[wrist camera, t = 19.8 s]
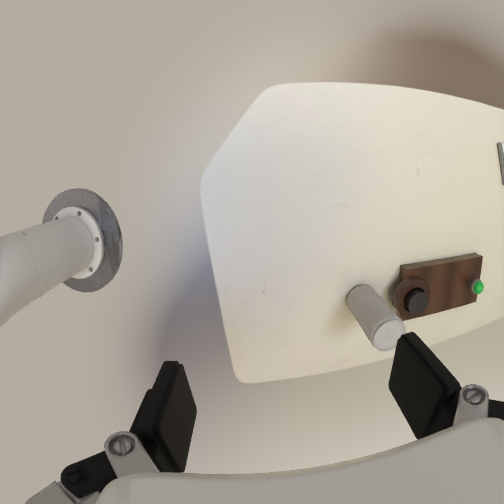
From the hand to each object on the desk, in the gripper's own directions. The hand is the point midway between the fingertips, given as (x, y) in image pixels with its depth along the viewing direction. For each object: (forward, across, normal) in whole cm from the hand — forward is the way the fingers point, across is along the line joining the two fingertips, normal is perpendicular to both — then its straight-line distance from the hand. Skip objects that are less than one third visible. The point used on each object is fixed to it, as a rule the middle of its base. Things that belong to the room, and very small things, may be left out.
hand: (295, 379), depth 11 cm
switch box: (+29, -29, +11) cm, 43 cm away
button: (+26, -22, +11) cm, 36 cm away
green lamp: (+25, -36, +11) cm, 45 cm away
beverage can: (+30, -14, +11) cm, 35 cm away
